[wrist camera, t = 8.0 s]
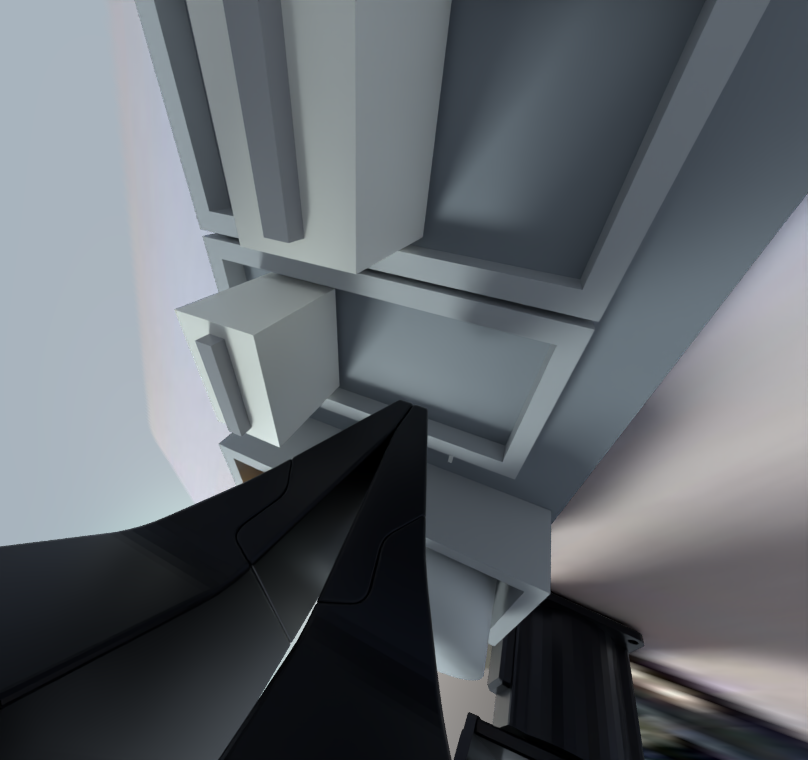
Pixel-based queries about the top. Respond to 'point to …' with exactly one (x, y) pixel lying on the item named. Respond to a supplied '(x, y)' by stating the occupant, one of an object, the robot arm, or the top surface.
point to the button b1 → (459, 615)
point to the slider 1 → (324, 120)
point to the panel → (539, 244)
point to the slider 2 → (265, 353)
